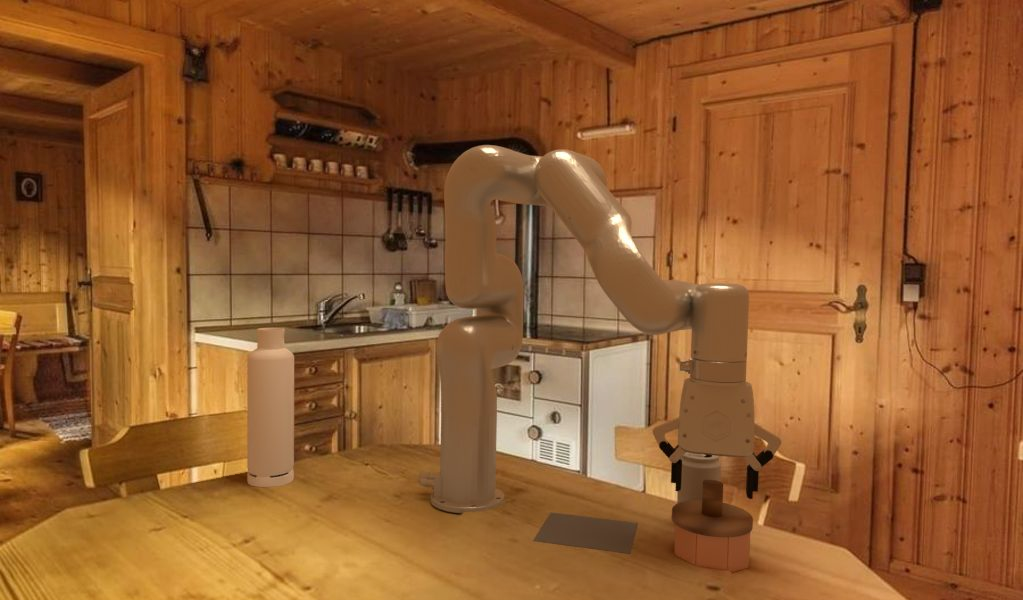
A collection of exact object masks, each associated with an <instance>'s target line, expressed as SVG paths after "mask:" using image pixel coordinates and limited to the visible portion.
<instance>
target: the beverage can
mask: <svg viewBox="0 0 1023 600" xmlns="http://www.w3.org/2000/svg"><path fill="white" fill-rule="evenodd" d="M719 458H720V456H716V455H705V454H695V453H689V452H686V453H685V454H684V455H683V456H682V457H681V460H682V479H681V491H680V490H679V491H677V498H676V499H677V500H676V504H678V503H680V502H684V501H692V500H702V488H703V481H704V480H716V481H720V482H721V479H722V478H721V475H722V474H721V473H722V464H721V461H720V460H719Z"/></svg>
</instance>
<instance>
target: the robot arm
mask: <svg viewBox="0 0 1023 600" xmlns="http://www.w3.org/2000/svg"><path fill="white" fill-rule="evenodd" d="M607 184H608V183H607V176H606V172H605V170H604V169H603V167H602V166H601V164H600V163H599V162H598V161H596V159H593V158H592V157H589V156H588V155H585V154H581V153H579V152H576V151H575V150H570V149H563V148H561V149H555V150H552V151H549V152H547V153H545V154H544V155H543V156H542V155H541V156H540V155H529V154H525V153H523V152H522V153H521V152H519V151H517V150H516V151H515V150H513V149H510V148H506V147H503V146H498V145H493V144H492V145H491V144H482V145H477V146H474V147H471V148H469V149H467V150H466V151H464V152H463V153H461V155H459V156H457V158H456V159H455V160H454V162H453V163H452V165H451V166H450V168H449V171H448V172H447V175H446V178H445V183H444V191H443V193H444V194H443V196H444V197H443V198H444V199H443V200H444V202H443V203H444V211H445V251H444V253H445V255H444V257H445V263H444V265H445V266H444V267H445V268H444V269H445V270H444V271H445V272H444V275H445V276H444V277H445V278H444V282H445V283H444V284H445V293H446V296H447V298H448V300H449V301H450V302H451V303H452V305H453V306H455V307H458V308H461V309H467V310H470V309H472V310H473V309H474V310H475V309H476V315H473V316H464V317H461V318H457V319H454V320H452V321H450V322H448V323H447V324H446V325H445V326H444V327H443V328H442V329H441V330H440V332H439V334H438V337H437V339H436V345H435V348H436V349H435V350H436V351H435V353H436V360H437V361H436V362H437V366H438V367H437V368H438V373H439V377H440V378H439V382H440V448H439V449H440V457H439V458H440V459H439V461H440V462H439V467H440V468H439V471H437V472H436V473H434V472H429V471H420V472H419V474H418V476H417V477H418V483H419V486H420V487H427V488H428V487H429V488H432V489H433V490H432V492H431V493H430V500H429V501H430V504H431V505H432V506H434V507H435V508H437V509H439V510H442V511H444V512H448V513H452V514H453V513H455V514H463V513H469V512H471V513H472V512H482V511H487V510H492V509H495V508H497V507H499V506H501V505H502V504H503V503H504V502H505V493H504V492H503V491H502V490H501V489H499V488H497V487H496V483H497V481H496V480H497V479H496V476H497V474H496V473H497V472H496V471H497V432H498V431H497V423H498V395H497V389H496V385H495V381H494V377H493V374H492V370H493V369H499V368H501V367H504V366H507V365H509V364H511V363H512V362H514V361H515V360H516V358H518V355H519V354H520V352H521V349H522V345H523V338H524V280H523V276H522V273H521V271H520V269H519V266H518V265H517V264H516V262H515V261H514V260H513V259H512V258H510V257H509V256H507V255H504V254H501V253H497V233H498V232H497V223H496V219H495V215H494V213H493V210H492V206H491V205H492V204H491V203H492V202H493V201H494V200H497V201H500V202H505V203H512V204H516V205H517V204H519V205H531V206H540V207H541V206H543V207H550V208H551V210H552V211H553V212H554V214H555V215H556V216H557V217H558V218H559V219H560V221H561V222H562V223H563V225H564V226H565V227H566V228H567V230H568V232H570V234H571V235H572V236H573V237H574V238H575V240H576V241H577V242H578V243H579V245H580V246H581V247H582V249H583V250H584V252H585V254H586V258H587V262H588V264H589V266H590V268H591V270H592V272H593V274H594V277H595V279H596V281H597V283H598V284H599V287H601V289H602V290H603V292H604V293H605V294H606V296H607V297H608V298H609V300H610V301H611V303H612V304H613V306H615V307H616V308H617V310H618V311H619V312H620V314H621V315H622V316H623V318H624V319H625V320H626V321H627V322H628V323H629V324H630V325H631V326H632V327H634V328H635V329H636V330H638V331H640V332H641V333H644V334H646V335H650V336H659V335H663V334H667V333H673V332H677V331H678V332H679V331H688V330H691V335H690V336H691V339H690V359H689V358H688V360H685V361H679V372H685V373H687V375H689V377H688V378H685V379H684V381H683V384H682V390H681V394H680V403H679V413H678V414H679V415H678V417H676V418H673V419H670V420H669V421H666V422H664V423H661V424H659V425H656V426H654V428H653V429H652V435H653V436H654V439H655V441H656V443H657V445H658V447H659V449H660V451H662V453H663V454H664V455H665V456H666V458H668V459H669V461H670V462H671V463H670V464H671V466H670V468H671V469H670V470H671V471H670V483H671V484H675V490H674V491H675V492H678V491H679V490H680V491H681V479H682V460H681V457H682V456H683V455H684V454H685V453H686V452H689V453H695V454H705V455H716V456H719V457H727V458H729V457H730V458H744V460H745V461H746V462H747V463H748V465H746V479H745V480H746V482H745V494H746V498H748V499H749V500H753V497H754V496H753V495H754V492H758V491H759V472H760V470H761V469H762V468H763V467H764V466H765V465H766V464H767V463H769V462H771V460H773V458H774V456H775V455H776V453H777V451H778V450H779V449H780V447H781V445H782V440H781V438H780V437H779V436H777V435H775V433H772V432H770V431H768V430H767V429H765V428H763V427H762V426H759V424H756V423H755V422H756V421H755V420H756V419H755V399H754V391H753V386H752V384H751V383H750V382H748V381H747V366H748V365H747V361H748V337H749V336H748V335H749V333H748V332H749V311H750V309H749V308H750V293H749V290H748V289H747V288H746V287H745V285H741V284H738V283H737V284H736V283H722V282H721V283H719V282H718V283H717V282H715V283H709V282H705V283H701V284H699V283H692V282H687V281H681V280H673V279H662V278H661V277H660V275H659V274H658V273H657V272H656V271H655V269H654V268H653V267H652V266H651V265H650V264H649V262H648V261H647V260H646V258H645V257H644V256H643V255H642V252H640V250H639V248H638V247H637V245H636V243H635V241H634V239H633V234H632V219H631V215H630V214H629V212H628V210H626V208H624V206H623V205H622V204H621V203H620V201H619V200H618V199H617V198H616V197H615V196H614V195H613V193H612V192H611V191H610V189H608V187H607ZM675 430H677V442H678V443H677V445H676V446H672V444H671V443H670V442H669V441H668V440H667V438H666V436H665V435H666V434H668V433H670V432H673V431H675ZM755 437H758V438H759V439H760V440H763V441H764V442H766V443H767V444H766V448H765V449H763V450H762V451H761V452H760V453H758V454H757V455H756V453H755V452H754V450H755Z"/></svg>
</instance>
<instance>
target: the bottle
mask: <svg viewBox="0 0 1023 600" xmlns="http://www.w3.org/2000/svg"><path fill="white" fill-rule="evenodd" d="M285 333H286V329H285V328H284V327H259V328H257V329H256V334H257V345H256V346H257V347H256V348H255V349H254V350H252V351H251V352H249V354H248V355H247V357H246V358H247V360H246V363H247V365H246V366H247V367H246V368H247V369H246V370H247V372H246V375H247V378H246V379H247V380H246V381H247V383H246V384H247V386H246V387H247V388H246V389H247V390H246V391H247V392H246V394H247V395H246V396H247V399H246V400H247V403H246V404H247V406H246V407H247V411H246V413H247V420H246V423H247V425H246V426H247V429H246V430H247V431H246V432H247V433H246V435H247V439H246V441H247V442H246V443H247V446H246V447H247V449H246V451H247V456H246V457H247V459H246V460H247V461H246V463H247V465H246V467H247V471H248V472H247V475H246V479H247V484H248V485H250V486H252V487H256V488H273V487H280V486H283V485H287V484H289V483H291V482H293V481H294V478H295V473H294V472H295V470H294V466H295V355H294V353H293V352H292V351H290V349H288V348H286V345H285V338H284V337H285ZM279 475H280V476H279Z"/></svg>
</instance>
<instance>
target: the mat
mask: <svg viewBox="0 0 1023 600" xmlns="http://www.w3.org/2000/svg"><path fill="white" fill-rule="evenodd" d="M638 524H639V522H634V521H627V520H625V521H624V520H619V519H618V520H617V519H610V518H609V519H608V518H603V517H602V518H599V517H592V516H585V515H584V516H583V515H574V514H568V513H558V512H550V513H549V515H548V516H547V517H546V519H545V521H544V523H543V524H542V525H541V527H540V529H539V531H538V532H537V533H536V535H535V537H534V539H533V541H532V542H538V543H546V544H553V545H559V546H560V545H561V546H567V547H569V546H570V547H574V548H575V547H576V548H582V549H590V550H598V551H606V552H614V553H620V554H628V555H630V554H631V551H632V547H633V543H634V540H635V536H636V531H637V527H638Z"/></svg>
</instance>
